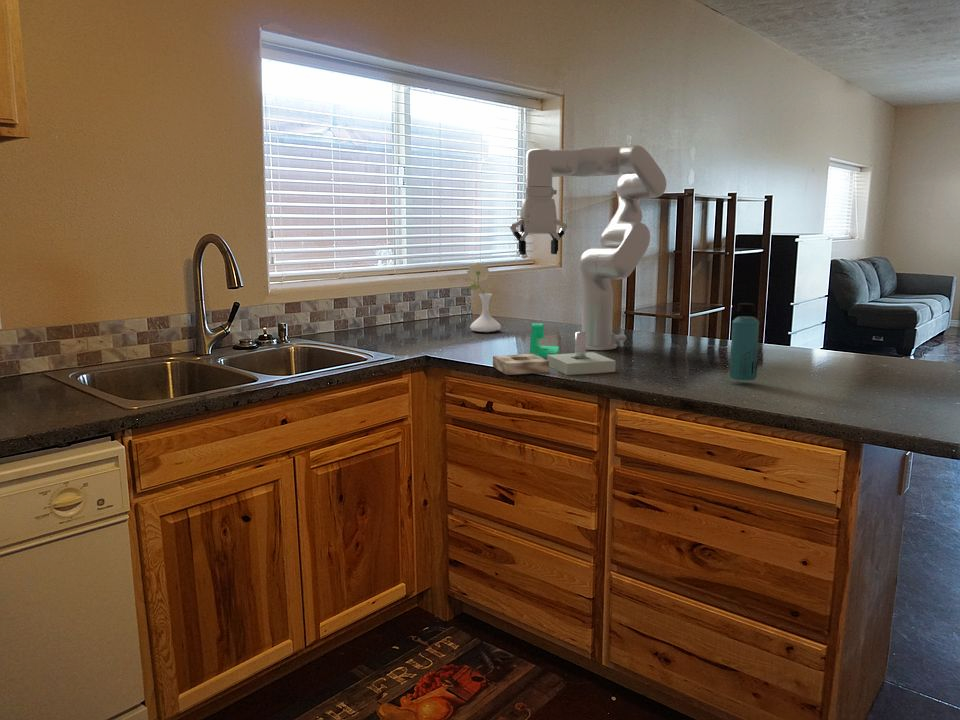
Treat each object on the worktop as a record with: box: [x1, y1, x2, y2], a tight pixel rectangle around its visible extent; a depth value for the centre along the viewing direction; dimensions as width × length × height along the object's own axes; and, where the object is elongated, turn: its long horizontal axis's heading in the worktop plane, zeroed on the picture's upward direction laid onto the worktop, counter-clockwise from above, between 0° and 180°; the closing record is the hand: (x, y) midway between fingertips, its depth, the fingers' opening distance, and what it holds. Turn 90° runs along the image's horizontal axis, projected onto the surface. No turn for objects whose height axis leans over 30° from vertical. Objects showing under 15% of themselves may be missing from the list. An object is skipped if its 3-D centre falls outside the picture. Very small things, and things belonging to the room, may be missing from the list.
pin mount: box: [492, 353, 550, 376], centre depth 203 cm, size 12×12×3 cm
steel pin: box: [574, 331, 587, 360], centre depth 204 cm, size 3×3×10 cm
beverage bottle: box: [728, 302, 760, 381], centre depth 183 cm, size 6×7×20 cm
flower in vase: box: [466, 262, 502, 333], centre depth 271 cm, size 13×11×25 cm
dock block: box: [546, 351, 617, 376], centre depth 204 cm, size 14×14×3 cm
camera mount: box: [529, 322, 560, 360], centre depth 221 cm, size 12×8×10 cm, turn 170°
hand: (538, 254), depth 216 cm, fingers open, 9 cm apart
